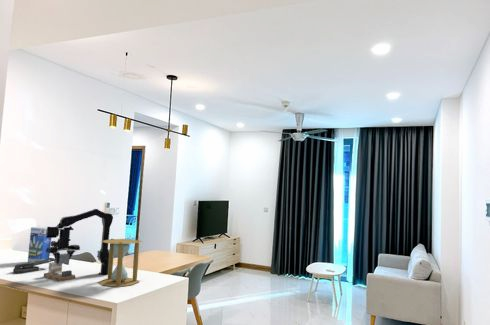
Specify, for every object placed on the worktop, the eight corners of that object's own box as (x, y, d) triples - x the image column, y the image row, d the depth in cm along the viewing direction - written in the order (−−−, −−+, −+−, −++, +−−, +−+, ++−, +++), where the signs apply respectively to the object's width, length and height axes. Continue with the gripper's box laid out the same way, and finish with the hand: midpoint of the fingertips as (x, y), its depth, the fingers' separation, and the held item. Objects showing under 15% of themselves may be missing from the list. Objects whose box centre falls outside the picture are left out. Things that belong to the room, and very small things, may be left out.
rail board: (75, 278, 219) (76, 262, 220) (59, 281, 210) (60, 264, 211) (59, 274, 229) (60, 258, 230) (43, 276, 221) (45, 260, 221)
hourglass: (146, 281, 217) (149, 240, 219) (116, 289, 198) (120, 244, 200) (120, 276, 229) (123, 237, 231) (90, 282, 210) (93, 240, 212)
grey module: (68, 264, 221) (69, 254, 221) (59, 266, 216) (60, 255, 216) (64, 263, 223) (65, 253, 224) (55, 265, 218) (56, 254, 219)
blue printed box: (27, 262, 260) (30, 227, 263) (35, 260, 267) (39, 226, 270) (41, 264, 256) (44, 228, 259) (49, 262, 264) (52, 227, 266)
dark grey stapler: (57, 258, 245) (18, 263, 224) (56, 268, 244) (17, 274, 224) (50, 257, 250) (11, 262, 229) (50, 266, 249) (10, 272, 229)
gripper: (71, 235, 233) (69, 259, 232) (42, 237, 218) (40, 263, 216) (81, 236, 227) (79, 261, 225) (51, 239, 211) (49, 265, 210)
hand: (62, 262), depth 219 cm, fingers closed on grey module, 6 cm apart
